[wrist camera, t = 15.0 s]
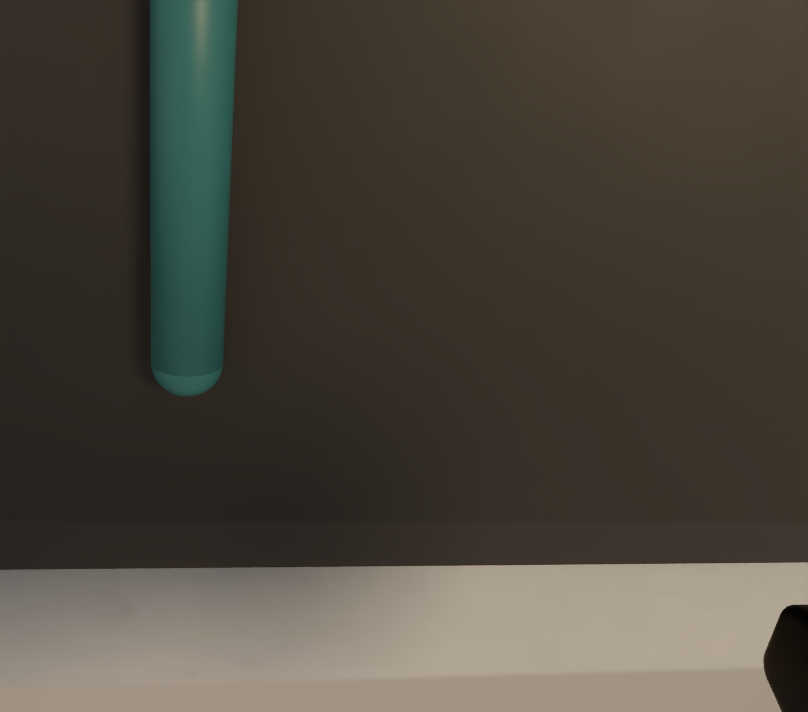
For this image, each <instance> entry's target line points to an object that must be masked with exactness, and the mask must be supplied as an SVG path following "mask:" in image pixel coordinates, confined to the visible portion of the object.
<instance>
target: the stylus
mask: <svg viewBox="0 0 808 712" xmlns="http://www.w3.org/2000/svg"><path fill="white" fill-rule="evenodd" d="M237 10H238V0H150V242H151V368H152V372H153V375H154V377H155V379H156V380H157V382H158V383H159V384H160V385H161V386H162V387H163V388H164V389H165V390H167V391H168V392H170V393H172V394H175V395H178V396H195V395H199V394H202V393H204V392H205V391H207V390H209V389H210V388H211V387H212V386H213V385H214V384H215V383H216V382H217V380H218V379H219V377H220V375H221V372H222V367H223V354H224V330H225V305H226V281H227V256H228V231H229V207H230V182H231V158H232V133H233V109H234V84H235V60H236V35H237Z"/></svg>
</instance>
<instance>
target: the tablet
mask: <svg viewBox="0 0 808 712" xmlns="http://www.w3.org/2000/svg"><path fill="white" fill-rule="evenodd" d="M783 562H808V0H238V10H237V35H236V60H235V84H234V109H233V133H232V158H231V182H230V207H229V231H228V256H227V281H226V305H225V330H224V354H223V367H222V372H221V375H220V377H219V379H218V380H217V382H216V383H215V384H214V385H213V386H212V387H211V388H210V389H209V390H207V391H205V392H204V393H202V394H199V395H195V396H178V395H175V394H172V393H170V392H168V391H167V390H165V389H164V388H163V387H162V386H161V385H160V384H159V383H158V382H157V380H156V379H155V377H154V375H153V372H152V368H151V242H150V0H0V570H12V569H122V568H232V567H343V566H453V565H563V564H673V563H783Z"/></svg>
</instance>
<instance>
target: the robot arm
mask: <svg viewBox="0 0 808 712" xmlns="http://www.w3.org/2000/svg"><path fill="white" fill-rule="evenodd" d="M764 670H765V674H766V677H767V680H768V682H769V684H770V687H771V689H772V691H773V693H774V695H775V697H776V700H777V702H778V704H779V706H780V709H781V711H782V712H808V605H791V606H788V607H786V608H785V609H784V610H783V611H782V613H781V614H780V617H779V619H778V622H777V624H776V627H775V629H774V631H773V634H772V636H771V639H770V641H769V644H768V646H767V649H766V651H765V654H764Z"/></svg>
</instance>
